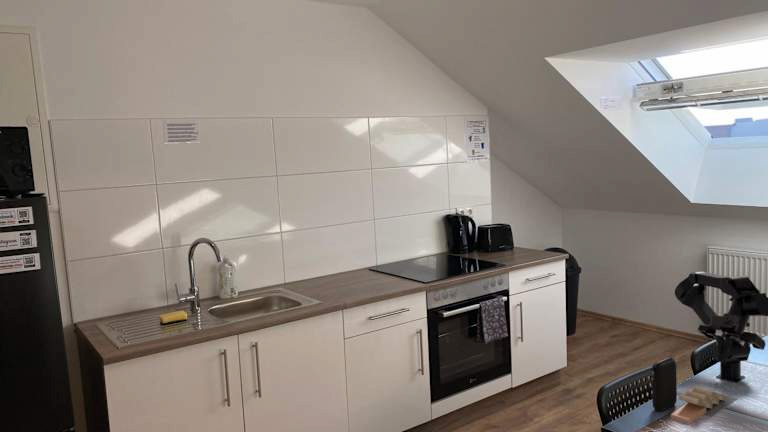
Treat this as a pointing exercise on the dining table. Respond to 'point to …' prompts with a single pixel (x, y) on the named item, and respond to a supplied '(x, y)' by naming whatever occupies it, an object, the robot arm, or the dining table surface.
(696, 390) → the domino
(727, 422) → the dining table surface
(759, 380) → the dining table surface
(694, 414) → the domino
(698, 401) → the domino
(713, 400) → the domino
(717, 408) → the rubber mat
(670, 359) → the black upright slab
